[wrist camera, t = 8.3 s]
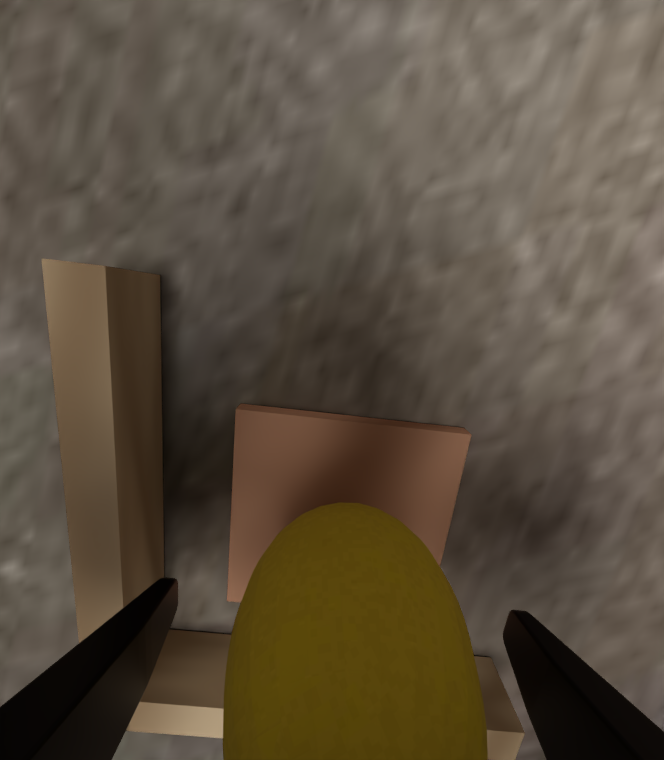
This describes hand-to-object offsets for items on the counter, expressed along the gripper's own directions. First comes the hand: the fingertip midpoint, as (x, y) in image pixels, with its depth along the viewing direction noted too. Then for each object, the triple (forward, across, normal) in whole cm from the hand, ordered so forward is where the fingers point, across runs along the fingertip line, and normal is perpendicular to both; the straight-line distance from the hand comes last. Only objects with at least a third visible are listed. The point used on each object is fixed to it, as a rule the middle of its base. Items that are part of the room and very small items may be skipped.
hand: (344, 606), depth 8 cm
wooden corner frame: (+4, 0, 0) cm, 4 cm away
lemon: (+3, 0, 0) cm, 3 cm away
